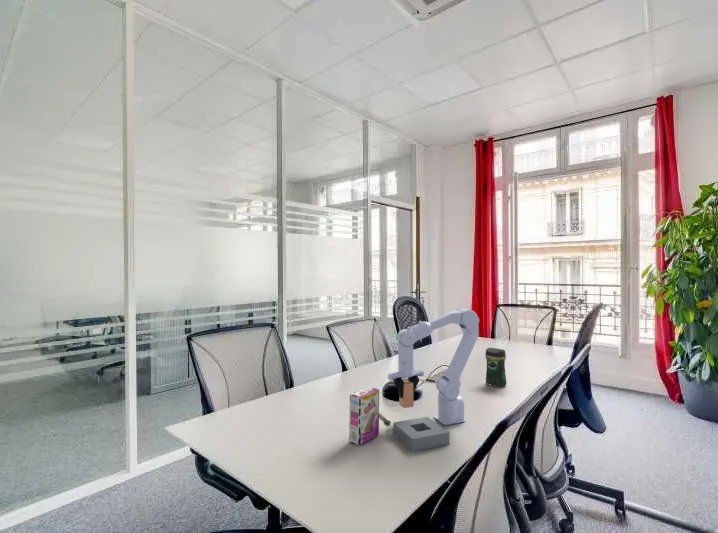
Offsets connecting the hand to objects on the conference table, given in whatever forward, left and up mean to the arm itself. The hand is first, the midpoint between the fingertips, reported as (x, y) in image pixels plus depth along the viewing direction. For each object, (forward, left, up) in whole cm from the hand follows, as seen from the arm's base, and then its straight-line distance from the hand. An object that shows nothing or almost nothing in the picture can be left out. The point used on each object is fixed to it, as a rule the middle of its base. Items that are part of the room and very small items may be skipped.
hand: (406, 396), depth 140 cm
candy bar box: (+20, +7, -10) cm, 23 cm away
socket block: (+2, +14, -10) cm, 17 cm away
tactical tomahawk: (+8, -11, -10) cm, 17 cm away
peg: (0, 0, -3) cm, 3 cm away
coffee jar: (-65, -25, -10) cm, 70 cm away
